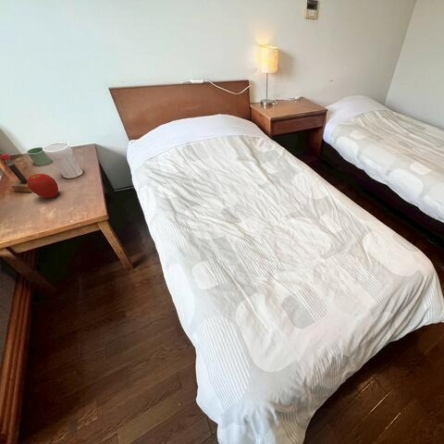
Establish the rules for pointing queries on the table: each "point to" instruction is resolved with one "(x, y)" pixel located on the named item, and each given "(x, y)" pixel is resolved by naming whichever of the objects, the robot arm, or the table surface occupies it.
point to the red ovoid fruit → (43, 185)
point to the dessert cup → (38, 156)
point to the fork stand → (20, 186)
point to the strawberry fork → (13, 167)
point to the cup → (63, 159)
